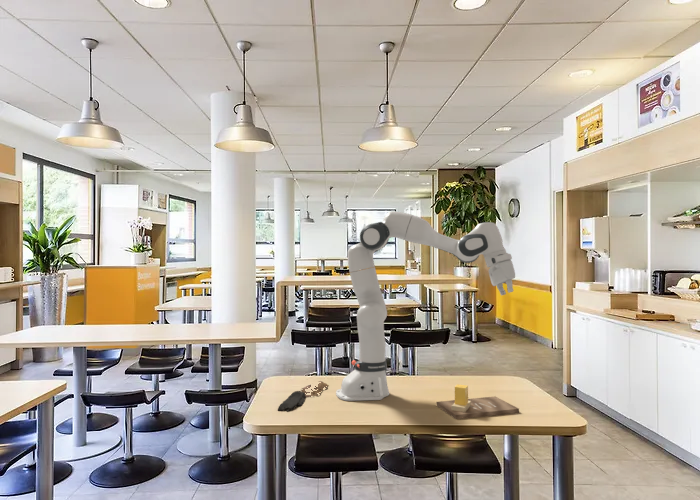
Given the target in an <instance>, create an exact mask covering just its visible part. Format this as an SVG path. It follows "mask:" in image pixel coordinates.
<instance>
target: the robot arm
mask: <svg viewBox="0 0 700 500" xmlns="http://www.w3.org/2000/svg"><path fill="white" fill-rule="evenodd" d="M391 238H396V239H400V240H403V241H406V242H408V243H409V242H410V243H413V244H418V245H423V246H429V247H432V248H435V249H438V250H440V251H444V252H445V253H449V254H451V255H453V256H454V257H455V258H457V259H458V260H459V261H460V262H461V263H464V264H470V263H473V262H474V263H475V262H476V261H477V260H478V259H479V257H480V256H481V255H483V258H484V261H485V265H486V268H489V269H488V275H489V279H490V283H491V285H492V286H493V287H496V288H497V290H498V292H499V294H500V296H505V295H506V294H507V293H512V292H514V287H513V279H515V278H516V272H515V268H514V264H513V261H512V259H513V258H512V257H513V256H512V254H511V253H508V252H507V250H506V248H505V246H504V244H503V238H502V235H501V232H500V229H499V228H498V226H497V223H495V222H492V221H484V222H481V223H478V224H477V225H476V226H475V227H474V228H473V229H472V230H471V231H470V232H469V233H467V234H465V235H463V236H462V237H461V238H460V239H456V238H453V237H450V236H447V235H444V234H441V233H440V232H437V231H436V230H435V229H434V228H433V226H431V224H430V223H429V221H427V219H424V218H422V217H420V216H418V215H414V214H410V213H407V212H402V211H395V210H393V211H389V212H387V213H386V215H385V216H384V218H383V219H382V221H378V222H374V223H369V224H367V225H365V226H364V227H363V228H362V229H361V231H360V232H359V241H360V242H359V243H356V244H354V245H351V246H350V247H349V248H348V250H347V266H348V270H349V271H348V272H349V275H350V276H349V277H350V281H351V285H352V290H353V292H354V294H355V296H356V299H357V302H358V305H359V308H358V310H357V311H356V323H357V324H356V325H357V333H358V334H357V335H358V341H359V342H358V343H359V344H358V345H359V346H358V349H359V351H358V352H359V353H358V355H359V357H358V358H359V359H358V360H357V361H356V360H355V359H353V360H352V361H351V365H353V366H354V369H353V370H352V371H351V372H350V373H349V374H348V375H346V376H344V377H343V379H342V382H341V388H339V389H336V391H335V394H336V397H337V398H338V399H340V400H341V401H345V402H348V401H350V402H351V401H352V402H353V401H355V402H356V401H379V400H380V401H381V400H383V399H384V398H385V397H389V396H390V391H389V386H388V381H387V371H388V366H387V365H388V364H387V359H386V337H385V324H384V322H385V320H386V319H387V316H388V309H387V306H386V303H385V298H384V296H383V293H382V290H381V286H380V284H379V279H378V275H377V270H376V267H375V262H374V254H375V253H376V252H378V251H380V250H382V249H383V248H385V246H387V245H388V243H389V239H391ZM504 283H505V284H506V287H507V288H506V289H507V293H506V290H505V289H504V285H503V284H504Z"/></svg>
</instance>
